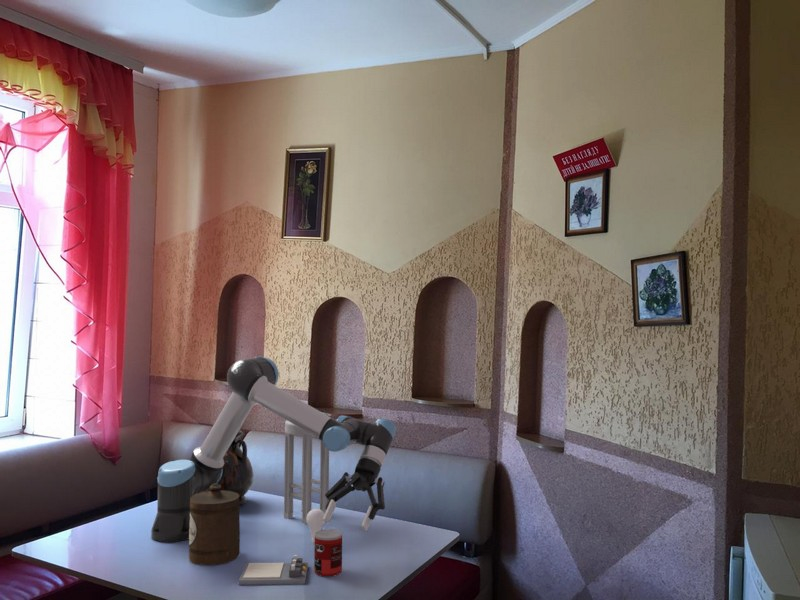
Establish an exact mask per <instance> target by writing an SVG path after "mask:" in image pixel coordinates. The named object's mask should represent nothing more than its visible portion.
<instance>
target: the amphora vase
mask: <svg viewBox="0 0 800 600" xmlns="http://www.w3.org/2000/svg"><path fill="white" fill-rule="evenodd" d="M208 434H209V432H208ZM208 434H207V435H208ZM241 436H243V431H242V430H241V429H239V431H238V433H237V435H236V436H235V438H234V440H233V442H232V443H231V445H230V447H229V448H228V450H227V452H226V454H225V455H224V457H223V460H224V466H223V467H222V469H223V473H222V477H221V479H220V480H219V482H218V484H219V485H220V486H221V489H220V491H232V492H236V493H238V494H239V499H240V502H239V508H240V507H242V506H243V505H245V504H246V502H247V497H246V496H245V495H246V494H247V493H248V492H249V490H250V489H251V487H252V486H253V484H254V483H253V482H254V471H253V466H252V463H251V461H250V458H249V457H248V447H247V446H248V445H247V444H246V442H245V440H243V439H238V438H239V437H241ZM239 444H240V445H241V448H242V449H241V448H240V446H239ZM207 491H211V490H210V489H208V490H205V491H203V492H207ZM201 493H202V492H201Z"/></svg>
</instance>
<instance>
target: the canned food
mask: <svg viewBox="0 0 800 600" xmlns="http://www.w3.org/2000/svg"><path fill="white" fill-rule="evenodd" d="M313 547H314V552H313V553H314V559H313V560H314V562H313V565H314V567H313V569H314V573H315V574H316V575H317V574H318V576H319V575H321V576H320V577H324V576H331V577H335V576H334V575H336V576H338V575H340V574H341V572H342V569H343V533H342V531H340V530H338V529H334V528H333V529H332V528H331V529H327V528H326V529H321V530H320V531H317V532H316V533H315V543H314V545H313ZM339 573H340V574H339Z"/></svg>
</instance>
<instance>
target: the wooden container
mask: <svg viewBox="0 0 800 600" xmlns="http://www.w3.org/2000/svg"><path fill="white" fill-rule="evenodd" d="M220 489H221V486H220V485H219V484H218V483H214V484H212V485H211V486H210V490H211V491H207V492H202V493H198V494H195V495H193V496H192V497H191V498H190V527H189V539H188V547H189V548H188V550H189V551H188V559H189V561H190V562H192V563H193V564H196V565H200V566H216V565H217V566H218V565H223V564H226V563H229V562H232V561H235V560H236V559H238V557H239V556H240V550H241V549H240V546H241V545H240V544H241V543H240V541H241V540H240V538H241V535H240V534H241V532H240V531H241V527H240V523H241V522H240V521H241V520H240V507H239V502H240V499H239V494H238V493H236V492H232V491H220Z"/></svg>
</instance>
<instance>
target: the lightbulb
mask: <svg viewBox="0 0 800 600" xmlns="http://www.w3.org/2000/svg"><path fill="white" fill-rule="evenodd" d="M323 517H324V512H323V511H322V510H320V508H313V509H311V511H310V512H309V513H308V514H307V517H306V521H307V524H306V525H308V528H309V530H310V536H311V542H312V543H313V544H315V533H316V532H317V531H320V530H323V529H322V528H323V526H324V524H325V523H326V522H325V521H324V520H323Z"/></svg>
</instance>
